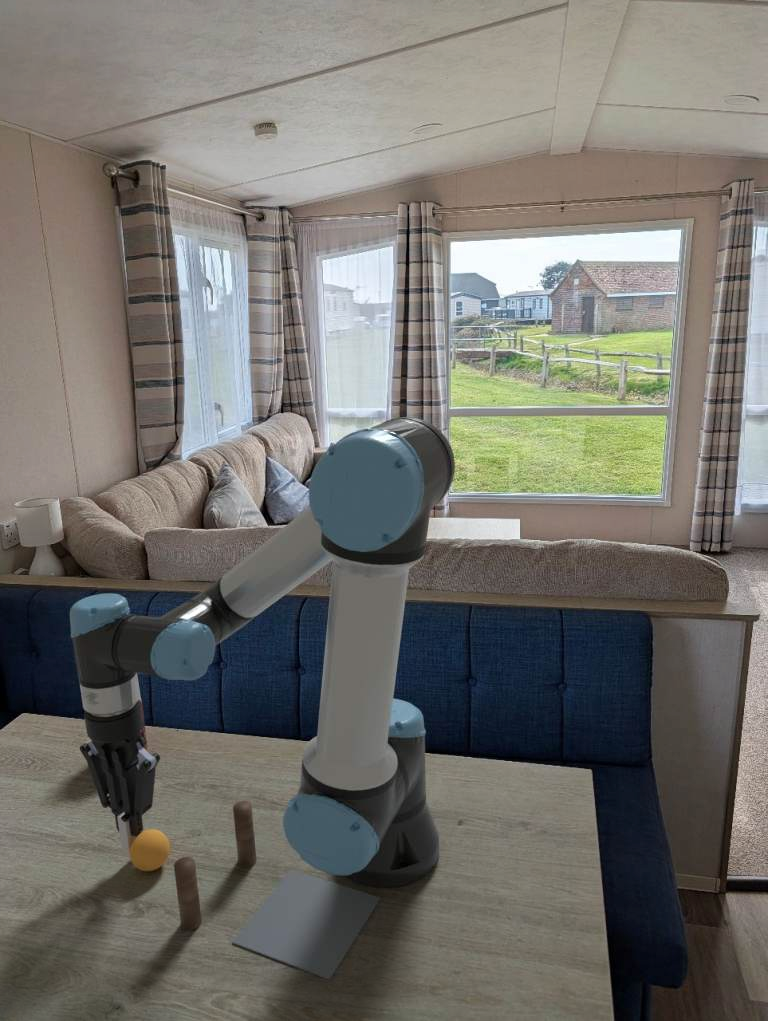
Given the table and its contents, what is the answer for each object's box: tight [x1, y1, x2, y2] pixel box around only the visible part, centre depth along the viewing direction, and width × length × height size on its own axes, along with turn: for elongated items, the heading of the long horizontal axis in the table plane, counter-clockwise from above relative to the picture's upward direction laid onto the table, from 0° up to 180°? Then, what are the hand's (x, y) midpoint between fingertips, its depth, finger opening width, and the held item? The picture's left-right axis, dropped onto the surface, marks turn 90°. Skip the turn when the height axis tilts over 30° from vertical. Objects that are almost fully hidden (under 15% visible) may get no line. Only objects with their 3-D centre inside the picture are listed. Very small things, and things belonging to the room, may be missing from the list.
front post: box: [173, 856, 203, 932], centre depth 97 cm, size 3×3×9 cm
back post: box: [232, 800, 257, 868], centre depth 108 cm, size 3×3×9 cm
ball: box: [129, 829, 171, 872], centre depth 108 cm, size 6×6×6 cm
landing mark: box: [231, 869, 381, 981], centre depth 98 cm, size 14×14×1 cm
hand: (133, 850), depth 110 cm, fingers closed
